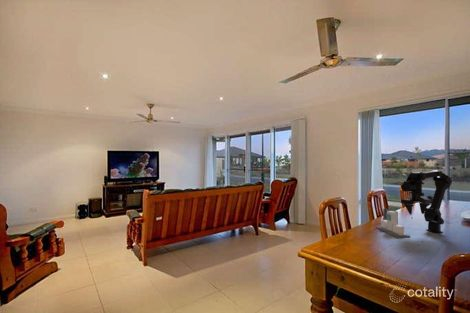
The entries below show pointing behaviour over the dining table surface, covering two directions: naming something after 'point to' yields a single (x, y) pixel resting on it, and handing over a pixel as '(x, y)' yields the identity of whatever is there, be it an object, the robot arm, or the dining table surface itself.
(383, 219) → the small box
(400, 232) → the mounting plate
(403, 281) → the dining table surface
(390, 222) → the block
